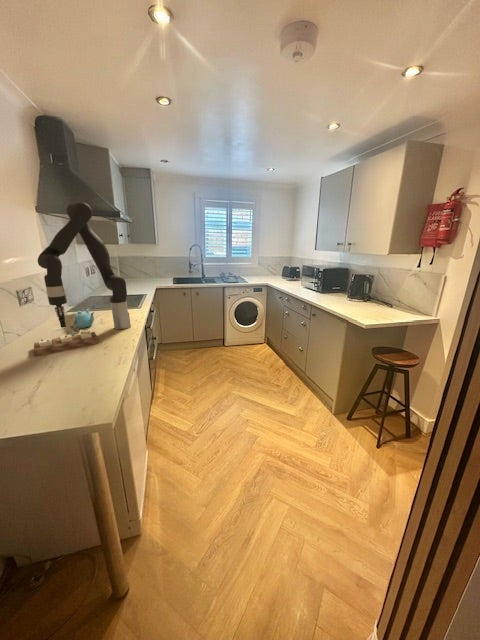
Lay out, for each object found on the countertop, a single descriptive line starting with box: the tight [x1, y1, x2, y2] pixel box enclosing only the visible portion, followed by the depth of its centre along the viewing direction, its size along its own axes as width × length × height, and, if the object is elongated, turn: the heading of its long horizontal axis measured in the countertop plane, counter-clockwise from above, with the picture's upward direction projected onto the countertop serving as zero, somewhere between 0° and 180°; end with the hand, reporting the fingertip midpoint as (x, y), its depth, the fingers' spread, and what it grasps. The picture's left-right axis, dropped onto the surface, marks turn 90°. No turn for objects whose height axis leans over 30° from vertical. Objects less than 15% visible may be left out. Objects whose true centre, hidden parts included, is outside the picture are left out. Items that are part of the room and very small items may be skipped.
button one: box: [59, 334, 73, 343], centre depth 136 cm, size 5×5×4 cm
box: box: [64, 312, 80, 336], centre depth 151 cm, size 5×4×13 cm
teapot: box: [64, 307, 95, 330], centre depth 166 cm, size 15×15×10 cm
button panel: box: [33, 331, 100, 357], centre depth 136 cm, size 28×12×3 cm, turn 127°
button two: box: [38, 337, 53, 347], centre depth 130 cm, size 5×5×4 cm
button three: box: [79, 330, 92, 339], centre depth 141 cm, size 5×5×4 cm
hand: (63, 327), depth 133 cm, fingers closed
